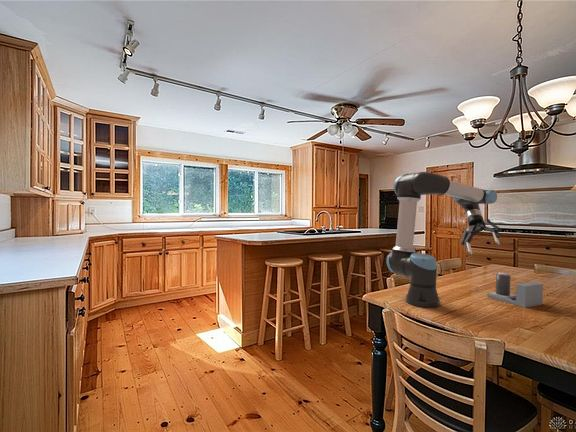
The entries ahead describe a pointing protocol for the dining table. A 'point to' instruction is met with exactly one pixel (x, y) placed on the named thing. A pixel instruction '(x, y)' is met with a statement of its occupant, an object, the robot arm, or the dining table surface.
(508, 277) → the knob
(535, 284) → the mount
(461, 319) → the dining table surface
